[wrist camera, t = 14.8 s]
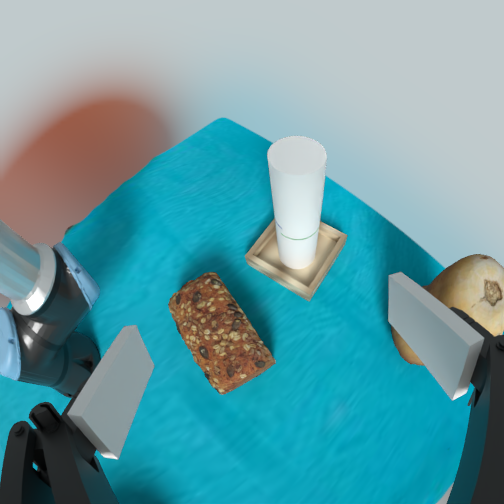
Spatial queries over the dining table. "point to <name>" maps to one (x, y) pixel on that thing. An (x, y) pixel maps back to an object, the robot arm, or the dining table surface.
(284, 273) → the holder tray
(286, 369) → the dining table surface
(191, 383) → the dining table surface
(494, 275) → the butternut squash
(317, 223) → the cylindrical container
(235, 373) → the bread
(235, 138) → the dining table surface
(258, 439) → the dining table surface
